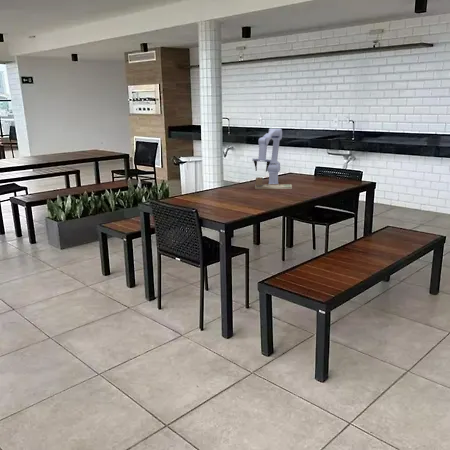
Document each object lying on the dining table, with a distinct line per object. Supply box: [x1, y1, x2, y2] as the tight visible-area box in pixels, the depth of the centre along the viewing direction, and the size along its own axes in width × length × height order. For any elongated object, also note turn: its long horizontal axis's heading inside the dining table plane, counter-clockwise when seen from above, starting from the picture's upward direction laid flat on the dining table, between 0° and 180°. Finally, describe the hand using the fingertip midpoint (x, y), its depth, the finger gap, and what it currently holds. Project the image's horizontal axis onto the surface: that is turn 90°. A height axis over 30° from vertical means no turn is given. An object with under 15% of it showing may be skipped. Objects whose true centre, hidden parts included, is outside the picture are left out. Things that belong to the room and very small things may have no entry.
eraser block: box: [255, 176, 264, 187], centre depth 368 cm, size 7×5×6 cm
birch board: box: [254, 184, 293, 190], centre depth 368 cm, size 10×28×2 cm, turn 84°
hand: (261, 171), depth 361 cm, fingers open, 7 cm apart
